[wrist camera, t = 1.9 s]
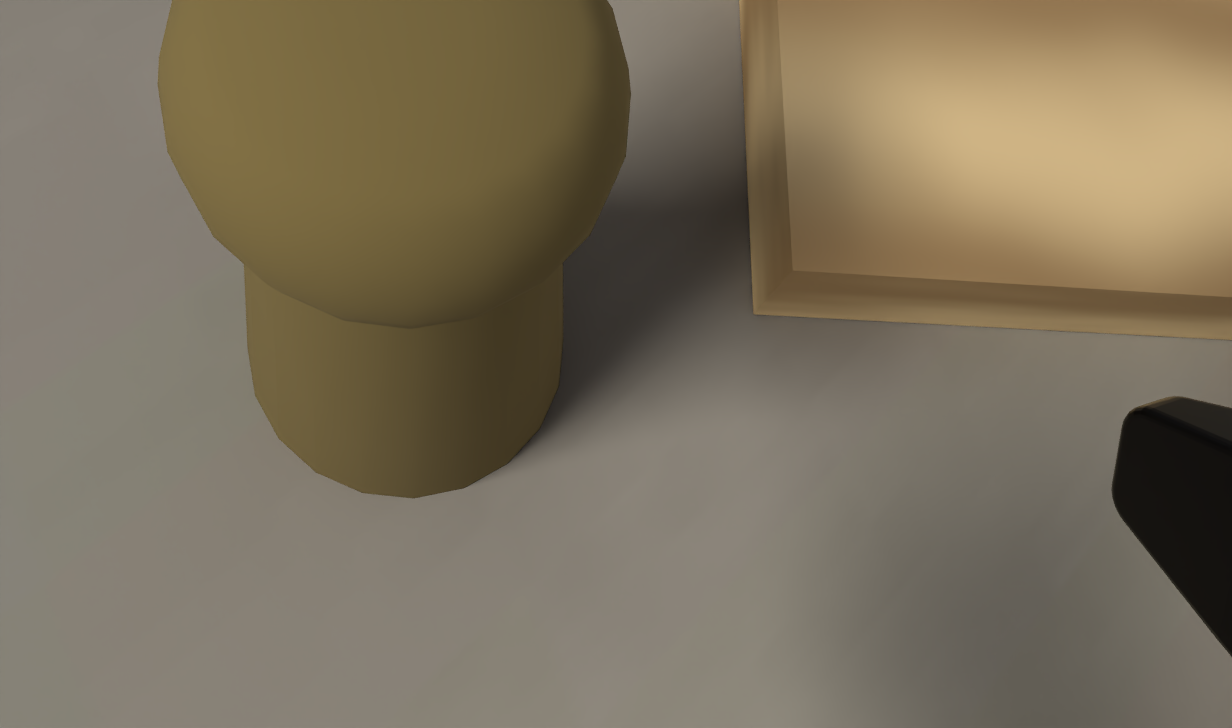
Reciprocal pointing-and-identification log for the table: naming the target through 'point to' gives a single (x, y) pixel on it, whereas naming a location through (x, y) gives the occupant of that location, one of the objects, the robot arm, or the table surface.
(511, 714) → the table surface
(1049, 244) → the oak board
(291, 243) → the cork
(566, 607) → the table surface
